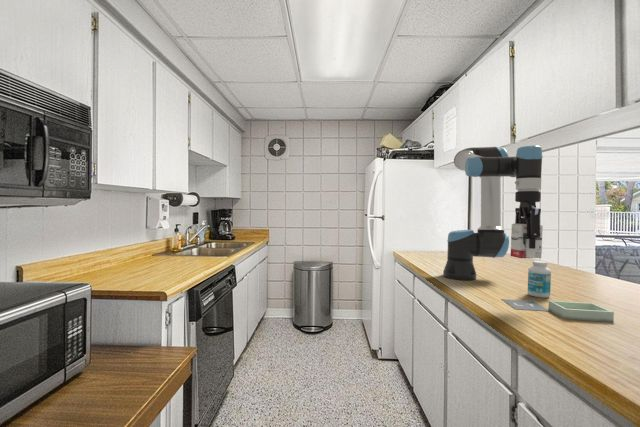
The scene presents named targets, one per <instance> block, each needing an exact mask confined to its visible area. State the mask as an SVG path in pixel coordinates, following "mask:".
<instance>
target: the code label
mask: <svg viewBox="0 0 640 427" xmlns="http://www.w3.org/2000/svg"><path fill="white" fill-rule="evenodd" d="M501 301H503V302H504V303H506V304H507V305H509V307H511V308H513V309H515V310H519V309H520V310H522V311H540V312H551V311H550V310H549V308H546V307H544V306H543V305H541V304H540V303H537V302H536V301H534V300H521V299H520V300H519V299H506V298H504V299H501Z"/></svg>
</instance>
